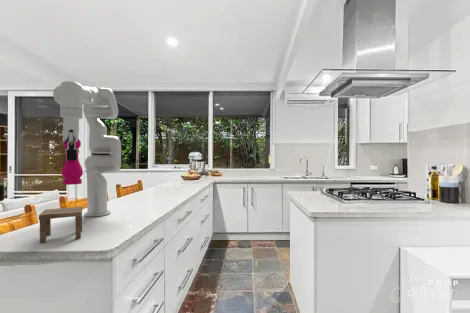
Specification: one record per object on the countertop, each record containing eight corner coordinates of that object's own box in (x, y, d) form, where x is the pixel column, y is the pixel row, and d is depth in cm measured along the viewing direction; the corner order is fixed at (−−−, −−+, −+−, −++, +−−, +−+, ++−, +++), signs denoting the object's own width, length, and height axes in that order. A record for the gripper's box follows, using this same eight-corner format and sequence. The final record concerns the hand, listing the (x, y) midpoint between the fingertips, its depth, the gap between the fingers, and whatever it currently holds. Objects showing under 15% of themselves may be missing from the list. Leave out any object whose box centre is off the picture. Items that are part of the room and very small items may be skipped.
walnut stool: (45, 234, 111) (45, 209, 111) (82, 230, 116) (82, 206, 117) (39, 243, 99) (38, 215, 99) (81, 238, 105) (80, 211, 105)
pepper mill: (73, 184, 106) (73, 131, 106) (57, 184, 107) (56, 132, 107) (87, 183, 113) (86, 133, 113) (71, 183, 114) (70, 134, 114)
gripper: (62, 116, 116) (62, 160, 116) (58, 110, 101) (58, 160, 101) (82, 117, 119) (83, 160, 119) (82, 111, 104) (82, 160, 104)
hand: (72, 159), depth 110 cm, fingers closed on pepper mill, 5 cm apart
